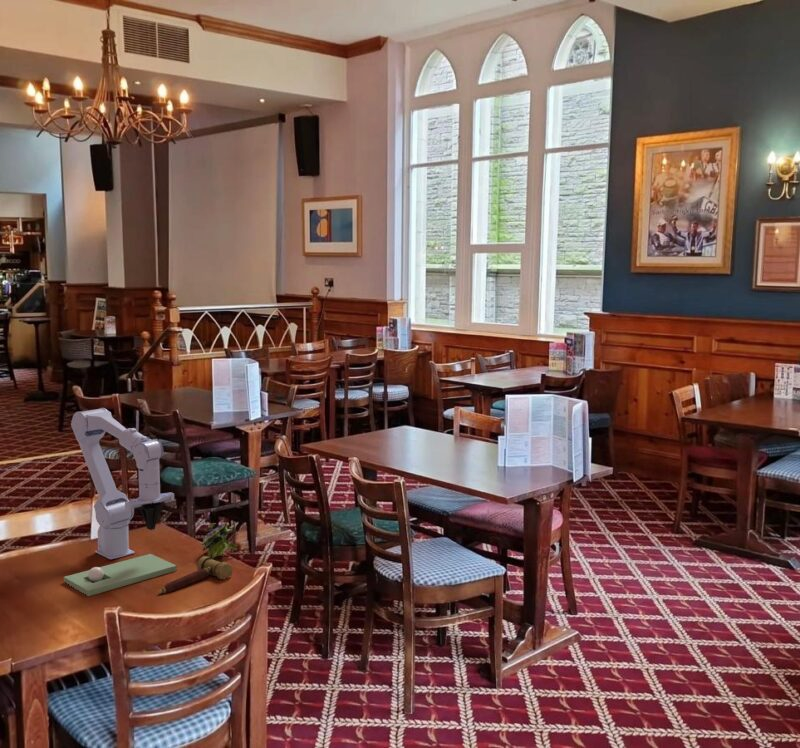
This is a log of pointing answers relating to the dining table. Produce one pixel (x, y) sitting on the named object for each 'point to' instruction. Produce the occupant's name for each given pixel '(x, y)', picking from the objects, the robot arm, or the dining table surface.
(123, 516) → the robot arm
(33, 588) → the dining table surface
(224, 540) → the passion flower
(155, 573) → the putting mat
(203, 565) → the gavel
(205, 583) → the dining table surface
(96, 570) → the ball
